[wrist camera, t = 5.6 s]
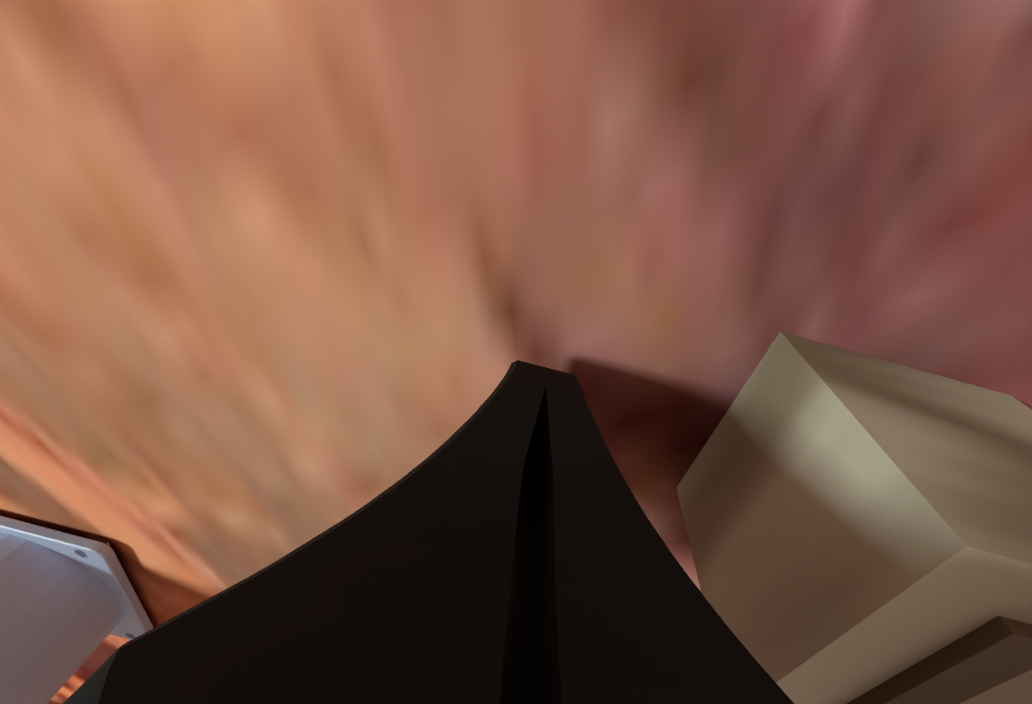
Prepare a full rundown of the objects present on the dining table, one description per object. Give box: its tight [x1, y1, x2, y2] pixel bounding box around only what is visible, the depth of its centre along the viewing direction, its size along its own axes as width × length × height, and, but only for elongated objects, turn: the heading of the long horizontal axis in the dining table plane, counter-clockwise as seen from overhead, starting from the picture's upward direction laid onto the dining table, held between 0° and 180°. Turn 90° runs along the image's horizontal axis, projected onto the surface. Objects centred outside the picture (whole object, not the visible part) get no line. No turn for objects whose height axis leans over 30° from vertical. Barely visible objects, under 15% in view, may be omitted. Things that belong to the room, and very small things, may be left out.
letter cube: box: [676, 332, 1032, 704], centre depth 8 cm, size 5×5×5 cm
